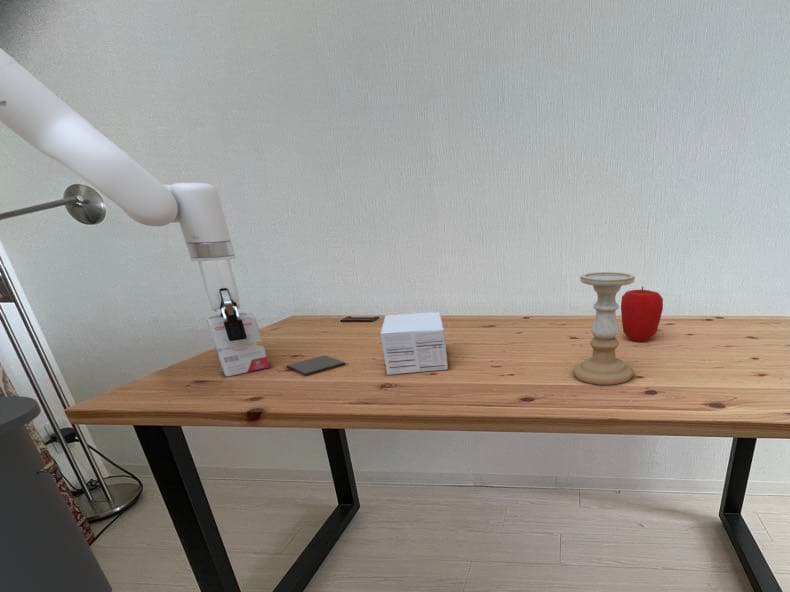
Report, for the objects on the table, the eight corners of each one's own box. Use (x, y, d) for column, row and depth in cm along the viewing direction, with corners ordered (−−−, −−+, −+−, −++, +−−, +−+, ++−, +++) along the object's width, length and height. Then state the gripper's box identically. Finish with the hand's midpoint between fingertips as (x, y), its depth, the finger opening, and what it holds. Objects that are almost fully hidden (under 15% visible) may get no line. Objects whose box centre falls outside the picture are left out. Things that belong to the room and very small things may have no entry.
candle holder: (574, 385, 90) (576, 281, 82) (572, 365, 101) (574, 271, 93) (637, 385, 89) (645, 280, 81) (628, 365, 101) (635, 271, 92)
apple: (667, 340, 118) (673, 287, 112) (637, 346, 113) (641, 291, 107) (640, 331, 126) (644, 281, 120) (610, 337, 121) (613, 285, 116)
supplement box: (390, 352, 112) (384, 314, 108) (444, 348, 114) (440, 311, 110) (385, 375, 97) (378, 332, 93) (448, 369, 99) (444, 327, 95)
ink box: (266, 363, 105) (252, 312, 101) (270, 368, 102) (256, 316, 97) (222, 371, 101) (205, 318, 96) (224, 377, 97) (207, 322, 92)
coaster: (306, 375, 97) (305, 373, 97) (286, 367, 102) (286, 365, 102) (345, 364, 103) (344, 362, 103) (325, 357, 109) (324, 355, 108)
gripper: (188, 249, 95) (213, 329, 102) (189, 256, 82) (217, 347, 89) (230, 247, 99) (251, 324, 106) (237, 253, 86) (261, 340, 93)
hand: (236, 334), depth 98 cm, fingers open, 9 cm apart
